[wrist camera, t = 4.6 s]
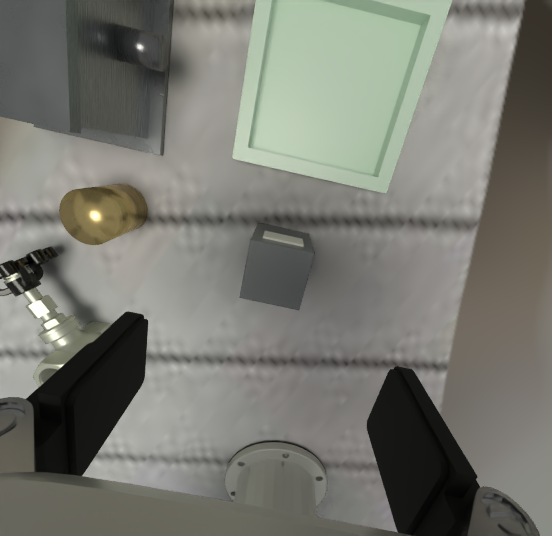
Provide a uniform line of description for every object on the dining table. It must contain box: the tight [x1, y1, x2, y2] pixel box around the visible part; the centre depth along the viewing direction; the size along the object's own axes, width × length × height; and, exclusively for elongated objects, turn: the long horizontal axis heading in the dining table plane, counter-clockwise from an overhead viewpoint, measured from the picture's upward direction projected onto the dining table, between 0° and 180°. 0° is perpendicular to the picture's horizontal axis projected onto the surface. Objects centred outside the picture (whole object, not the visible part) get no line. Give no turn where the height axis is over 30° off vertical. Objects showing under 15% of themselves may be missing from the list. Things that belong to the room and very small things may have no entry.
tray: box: [232, 0, 452, 194], centre depth 20 cm, size 12×12×2 cm
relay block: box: [240, 223, 315, 310], centre depth 23 cm, size 5×4×6 cm
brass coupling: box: [59, 184, 148, 245], centre depth 23 cm, size 4×4×5 cm
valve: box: [0, 247, 111, 387], centre depth 26 cm, size 7×7×12 cm
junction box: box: [0, 0, 174, 155], centre depth 17 cm, size 12×11×10 cm
